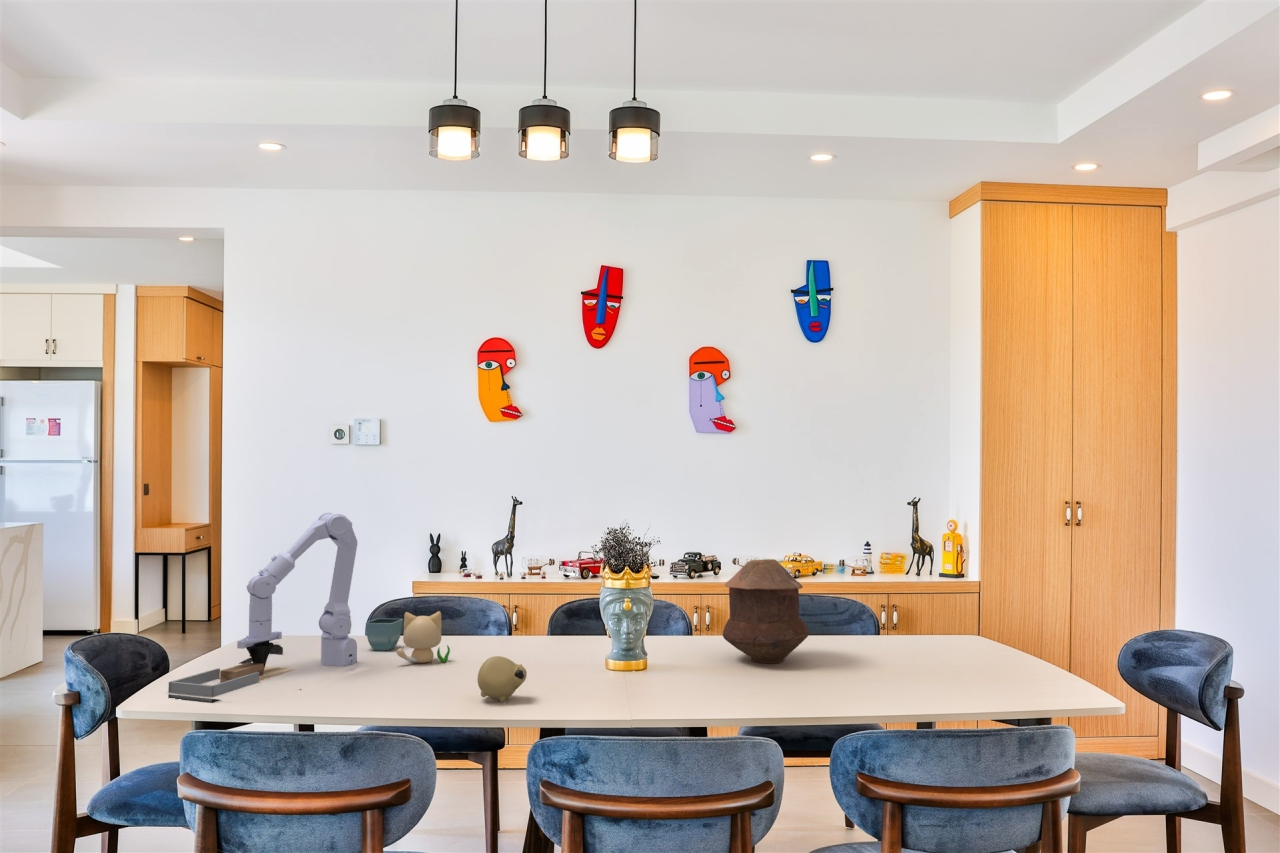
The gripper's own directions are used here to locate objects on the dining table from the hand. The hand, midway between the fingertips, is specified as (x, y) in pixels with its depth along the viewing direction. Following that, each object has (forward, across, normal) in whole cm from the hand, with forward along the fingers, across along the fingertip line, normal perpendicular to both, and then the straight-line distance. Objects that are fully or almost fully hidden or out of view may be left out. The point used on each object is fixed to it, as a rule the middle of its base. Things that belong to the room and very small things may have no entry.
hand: (259, 670), depth 239 cm
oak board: (+2, 0, 0) cm, 2 cm away
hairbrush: (+3, -16, -15) cm, 22 cm away
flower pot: (+2, -44, +9) cm, 45 cm away
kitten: (+2, -32, +31) cm, 45 cm away
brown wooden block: (+1, +4, 0) cm, 4 cm away
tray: (+2, +16, 0) cm, 16 cm away
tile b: (+1, +9, 0) cm, 9 cm away
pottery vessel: (+2, -68, +126) cm, 143 cm away
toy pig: (+2, -2, +72) cm, 72 cm away
